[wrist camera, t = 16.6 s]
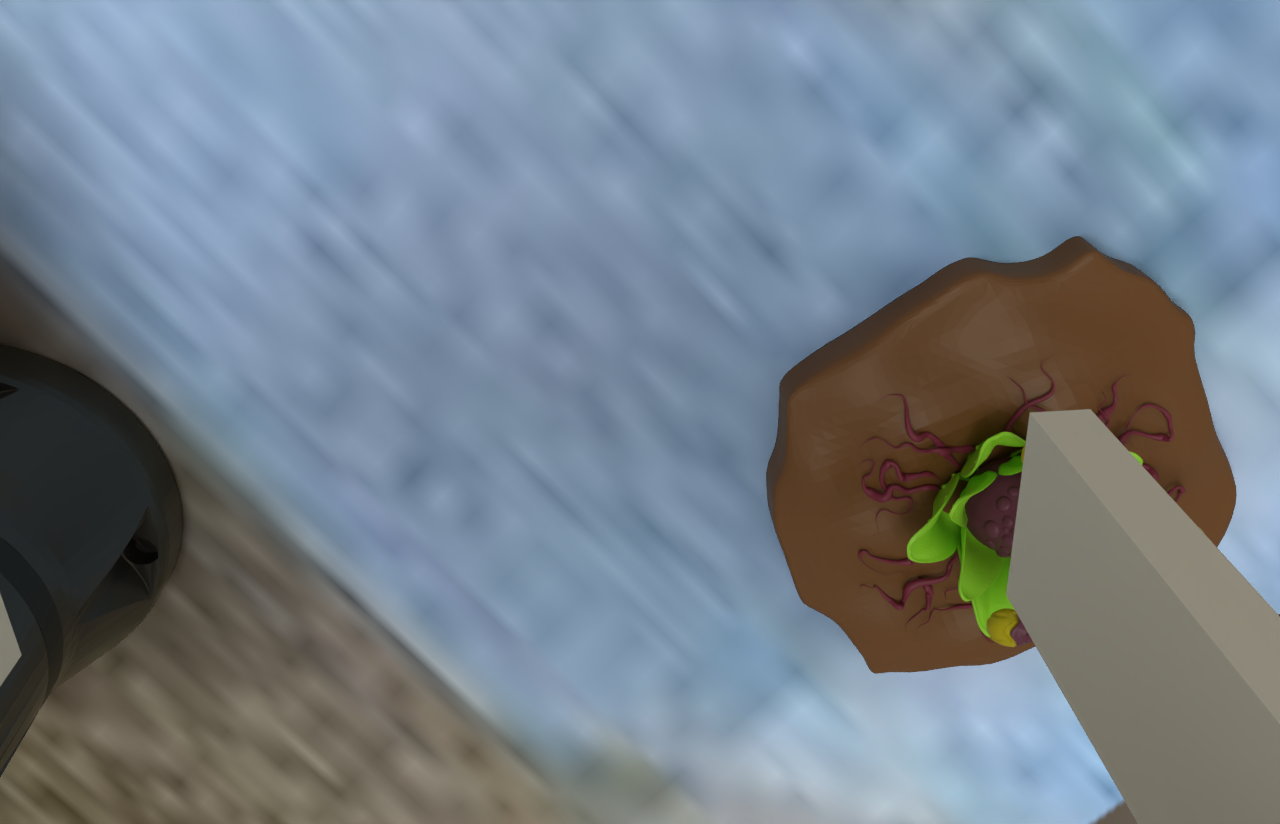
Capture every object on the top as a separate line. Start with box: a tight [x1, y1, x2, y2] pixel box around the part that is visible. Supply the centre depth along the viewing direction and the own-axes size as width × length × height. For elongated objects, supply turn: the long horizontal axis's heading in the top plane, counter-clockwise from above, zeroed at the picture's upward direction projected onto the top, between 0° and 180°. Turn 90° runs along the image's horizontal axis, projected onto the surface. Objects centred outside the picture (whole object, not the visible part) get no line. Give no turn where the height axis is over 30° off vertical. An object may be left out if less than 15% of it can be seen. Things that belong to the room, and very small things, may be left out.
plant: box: [766, 236, 1236, 673], centre depth 47 cm, size 20×20×11 cm
